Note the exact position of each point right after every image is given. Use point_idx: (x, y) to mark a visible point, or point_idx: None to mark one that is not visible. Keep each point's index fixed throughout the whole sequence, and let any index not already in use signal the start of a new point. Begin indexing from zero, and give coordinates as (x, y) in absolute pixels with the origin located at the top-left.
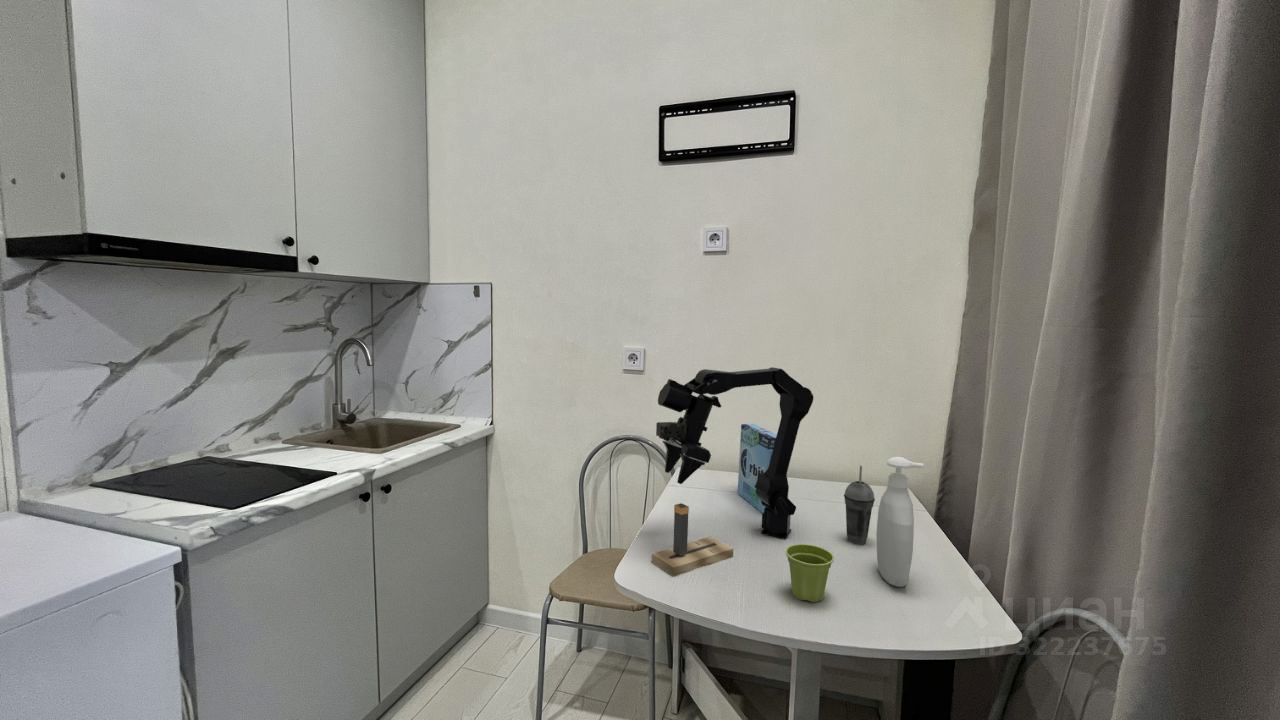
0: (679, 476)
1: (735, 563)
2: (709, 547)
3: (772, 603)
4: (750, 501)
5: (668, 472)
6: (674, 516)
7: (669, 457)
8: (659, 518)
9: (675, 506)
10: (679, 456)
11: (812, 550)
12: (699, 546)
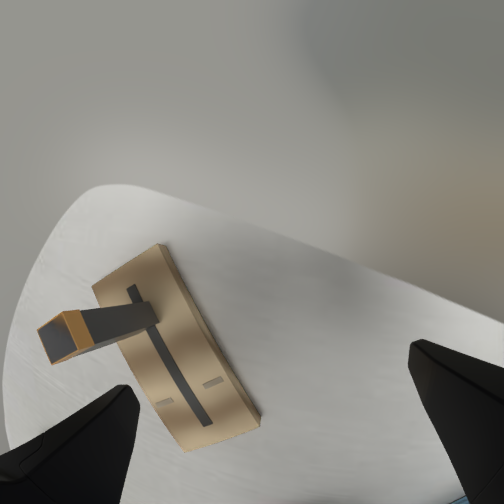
0: (86, 406)
1: (158, 434)
2: (188, 404)
3: (46, 415)
4: (459, 502)
5: (408, 365)
6: (91, 309)
7: (485, 413)
8: (442, 302)
9: (60, 314)
10: (471, 494)
11: None
12: (193, 382)
